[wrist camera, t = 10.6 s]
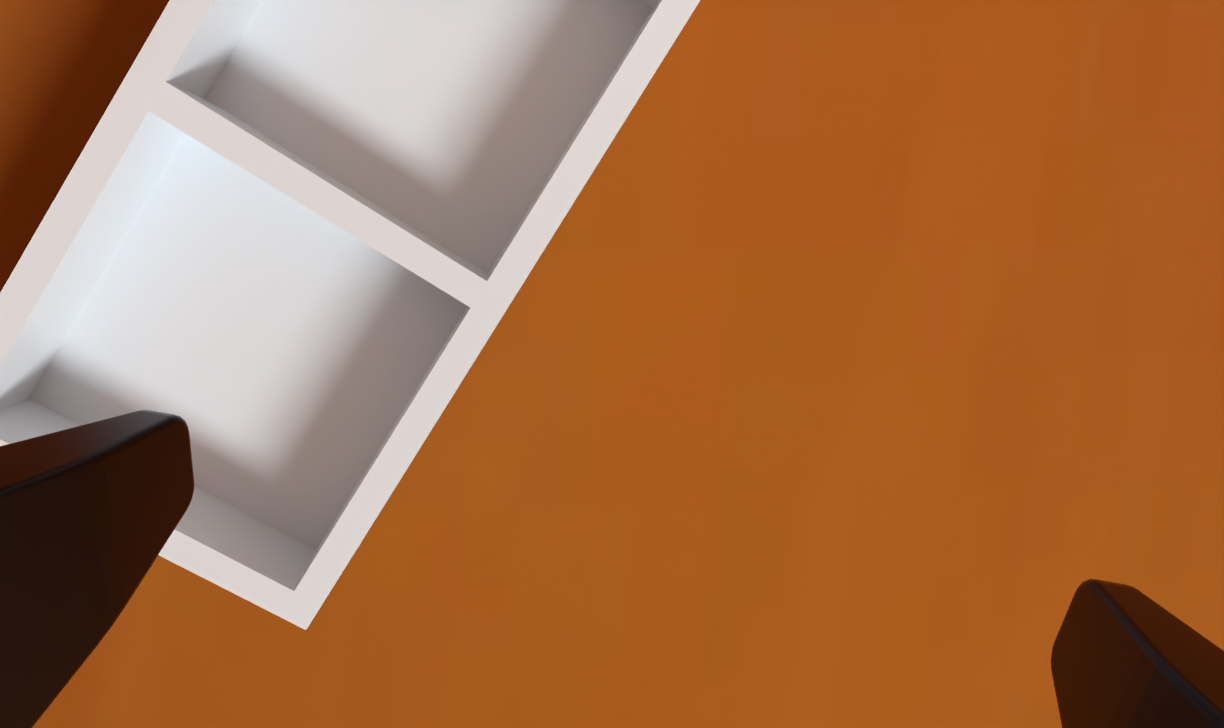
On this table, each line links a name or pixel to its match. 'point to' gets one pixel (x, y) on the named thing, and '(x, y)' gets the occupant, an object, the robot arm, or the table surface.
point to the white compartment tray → (311, 248)
